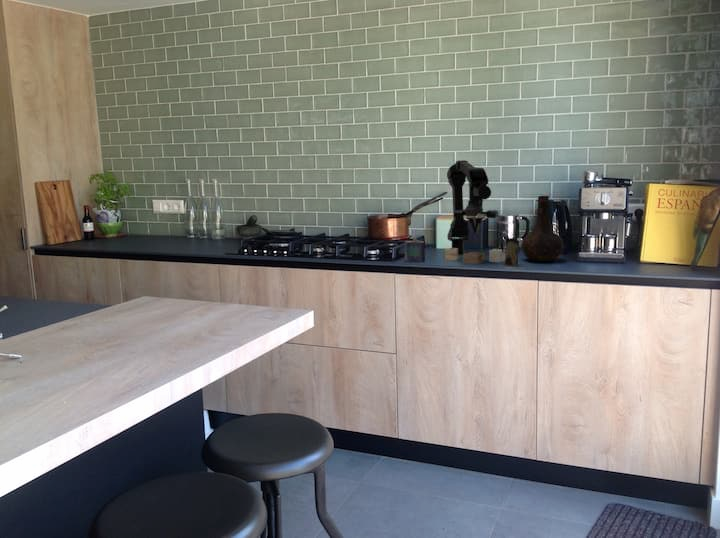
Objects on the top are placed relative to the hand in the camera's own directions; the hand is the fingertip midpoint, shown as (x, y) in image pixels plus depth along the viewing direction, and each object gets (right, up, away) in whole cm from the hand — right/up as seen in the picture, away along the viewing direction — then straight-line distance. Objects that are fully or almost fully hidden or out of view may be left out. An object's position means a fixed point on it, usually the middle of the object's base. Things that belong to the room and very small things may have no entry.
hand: (475, 233), depth 292 cm
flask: (-26, -12, +5) cm, 29 cm away
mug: (+12, -14, -10) cm, 21 cm away
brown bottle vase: (+29, -12, -1) cm, 31 cm away
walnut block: (-1, -13, -1) cm, 13 cm away
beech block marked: (-10, -12, +7) cm, 16 cm away
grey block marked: (+9, -12, 0) cm, 15 cm away
